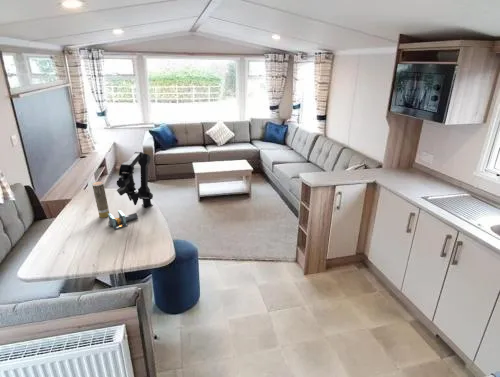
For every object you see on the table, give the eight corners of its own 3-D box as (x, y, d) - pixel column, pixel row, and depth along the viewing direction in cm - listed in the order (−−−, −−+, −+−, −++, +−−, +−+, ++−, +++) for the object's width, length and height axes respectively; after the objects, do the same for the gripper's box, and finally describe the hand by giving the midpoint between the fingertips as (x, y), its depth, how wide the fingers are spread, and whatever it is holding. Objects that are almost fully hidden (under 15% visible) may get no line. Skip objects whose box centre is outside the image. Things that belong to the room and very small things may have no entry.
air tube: (111, 227, 204) (109, 221, 203) (109, 225, 208) (108, 219, 206) (138, 219, 215) (137, 213, 213) (136, 217, 218) (135, 212, 216)
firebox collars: (108, 221, 212) (106, 212, 209) (121, 218, 216) (119, 208, 213) (115, 230, 202) (113, 220, 199) (127, 226, 206) (125, 216, 203)
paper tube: (111, 213, 223) (105, 181, 213) (106, 218, 216) (99, 185, 206) (102, 213, 223) (95, 181, 213) (97, 218, 217) (90, 185, 207)
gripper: (112, 180, 208) (116, 201, 215) (121, 189, 195) (125, 211, 201) (129, 176, 214) (132, 197, 221) (138, 184, 201) (142, 206, 207)
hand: (133, 202), depth 212 cm, fingers open, 9 cm apart
